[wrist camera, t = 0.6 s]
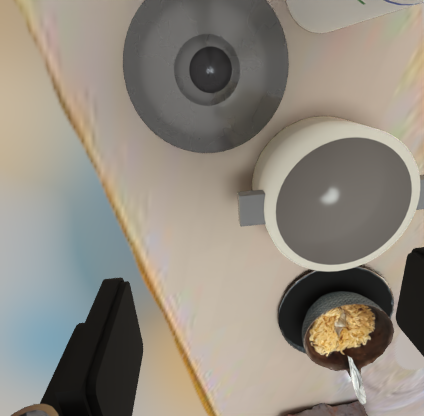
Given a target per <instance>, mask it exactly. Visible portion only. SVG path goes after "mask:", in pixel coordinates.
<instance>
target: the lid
mask: <svg viewBox="0 0 424 416" xmlns="http://www.w3.org/2000/svg"><path fill="white" fill-rule="evenodd" d="M288 66H289V63H288V49H287V43H286V39H285V35H284V32H283V29H282V27H281V24H280V22H279V20H278V18H277V16H276V14H275V13H274V11H273V9H272V8H271V6H270V5H269V4H268V3H267V1H266V0H145V1H144V2H143V3H142V5H141V6H140V7H139V9H138V10H137V12H136V14H135V16H134V17H133V19H132V22H131V24H130V27H129V29H128V32H127V36H126V40H125V45H124V52H123V70H124V79H125V83H126V87H127V91H128V94H129V96H130V99H131V102H132V104H133V105H134V107H135V109H136V111H137V113H138V114H139V116H140V117H141V119H142V120H143V121H144V123H145V124H146V125H147V126H148V127H149V128H150V129H151V130H152V131H153V132H154V133H155V134H156V135H157V136H159V137H160V138H162V139H163V140H165V141H166V142H168V143H170V144H172V145H174V146H176V147H178V148H181V149H184V150H188V151H192V152H199V153H215V152H221V151H225V150H229V149H232V148H235V147H237V146H239V145H241V144H243V143H245V142H246V141H248V140H250V139H251V138H252V137H254V136H255V135H256V134H258V133H259V132H260V131H261V130H262V129H263V128H264V127H265V126H266V124H267V123H268V122H269V121H270V119H271V118H272V116H273V115H274V113H275V112H276V110H277V108H278V106H279V104H280V102H281V99H282V97H283V94H284V91H285V87H286V82H287V77H288Z"/></svg>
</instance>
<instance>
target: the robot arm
mask: <svg viewBox="0 0 424 416" xmlns="http://www.w3.org/2000/svg"><path fill="white" fill-rule="evenodd" d="M396 321H397V324H398V326H399V327H400V328H401V330H402V331H403V332H404V333H405V335H406V336H407V337H408V338H409V339H410V341H411V342H412V343H413V344H414V345H415V347H416V348H417V349H418V350H419V351H420V352H421V354H422V355H423V356H424V247H422V248H415V249H413V250H412V252H411V253H410V254H408V256H407V260H406V265H405V270H404V276H403V281H402V286H401V291H400V296H399V302H398V307H397V312H396ZM142 355H143V343H142V338H141V333H140V328H139V324H138V319H137V315H136V310H135V305H134V301H133V296H132V292H131V287H130V283H129V282H128V281H127V282H124V280H123V278H113V279H105V280H103V282H102V284H101V287H100V289H99V291H98V294H97V296H96V298H95V301H94V303H93V305H92V308H91V310H90V312H89V315H88V317H87V319H86V321H85V323H79V324H78V325H77V326H76V328H75V329H74V331H73V334H72V336H71V338H70V340H69V342H68V344H67V346H66V349H65V351H64V353H63V355H62V357H61V359H60V362H59V364H58V366H57V368H56V370H55V372H54V375H53V377H52V379H51V381H50V383H49V385H48V388H47V390H46V392H45V394H44V396H43V398H42V400H41V402H40V404H34V405H31V406H27V407H24V408H23V409H21V410H19V411H17V412H15V413H14V414H12V415H11V416H132V412H133V406H134V400H135V395H136V390H137V384H138V378H139V372H140V366H141V361H142Z"/></svg>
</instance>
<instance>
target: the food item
mask: <svg viewBox="0 0 424 416" xmlns="http://www.w3.org/2000/svg"><path fill="white" fill-rule="evenodd" d="M287 416H368V415H367V414H366V411H365V409H364V407H363V405H362V404H361V403H360V402H359V401H356V402H353V403H351V404H342V405H337V406H333V407H332V406H330V405H327V404H325V403H321V404H319V405H317V406H313V408H312V409H311V410H305V411H302V412H301V413H296V414H288V415H287Z"/></svg>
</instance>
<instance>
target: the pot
mask: <svg viewBox="0 0 424 416" xmlns="http://www.w3.org/2000/svg"><path fill="white" fill-rule="evenodd" d="M419 209H424V175H419V170H418V167H417V164H416V161H415V159H414V157H413V155H412V153H411V152H410V151H409V149H408V148H407V147H406V146H405V145H404V144H403V143H402V142H401V141H400V140H399V139H397V138H396V137H394V136H393V135H391V134H389V133H387V132H385V131H383V130H379V129H376V128H372V127H369V126H365V125H362V124H358V123H355V122H352V121H348V120H345V119H341V118H337V117H331V116H316V117H310V118H306V119H303V120H300V121H298V122H295V123H293V124H291V125H289V126H288V127H286V128H284V129H283V130H282V131H280V132H279V133H278V134H277V135H276V136H274V137H273V138H272V139H271V140H270V142H269V143H268V144H267V145H266V147H265V148H264V149H263V151H262V153H261V154H260V156H259V158H258V160H257V163H256V165H255V169H254V172H253V178H252V191H242V192H238V214H239V223H240V226H251V225H261V224H265V226H266V228H267V230H268V232H269V234H270V237H271V239H272V240H273V242H274V244H275V245H276V247H277V248H278V249H279V251H280V252H281V253H282V254H283V255H284V256H286V257H287V258H288V259H289V260H291V261H292V262H294V263H296V264H298V265H300V266H302V267H305V268H308V269H311V270H317V271H327V272H328V271H341V270H347V269H351V268H354V267H357V266H360V265H362V264H365V263H367V262H369V261H371V260H373V259H375V258H376V257H378V256H379V255H381V254H382V253H384V252H385V251H386V250H387V249H389V248H390V247H391V246H392V245H393V244H394V243H395V242H396V241H397V240H398V239H399V238H400V236H401V235H402V234H403V233H404V231H405V230H406V228H407V227H408V226H409V224H410V222H411V220H412V218H413V216H414V214H415V211H416V210H419Z"/></svg>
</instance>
